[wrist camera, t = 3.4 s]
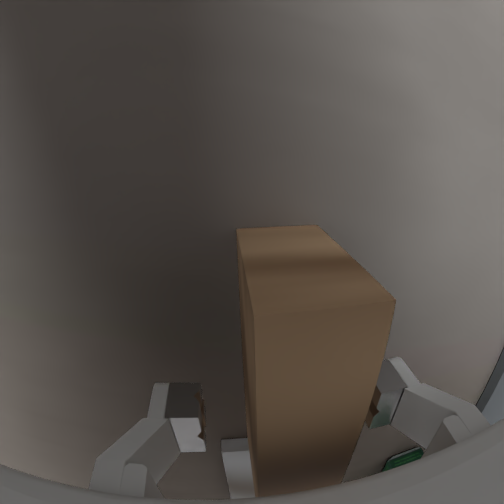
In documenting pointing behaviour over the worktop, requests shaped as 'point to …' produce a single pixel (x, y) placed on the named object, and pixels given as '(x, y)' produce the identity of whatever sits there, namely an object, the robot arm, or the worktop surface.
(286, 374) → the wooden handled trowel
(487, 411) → the slate mat
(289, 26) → the worktop surface
